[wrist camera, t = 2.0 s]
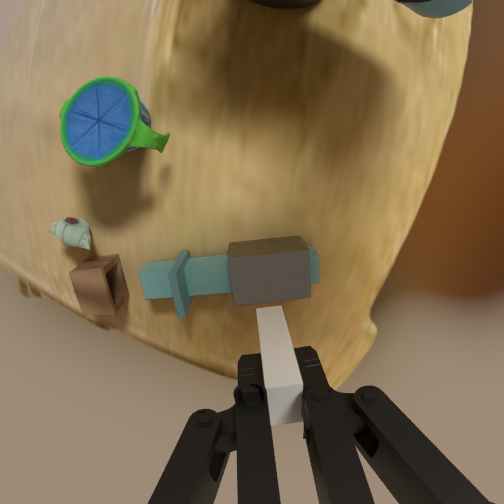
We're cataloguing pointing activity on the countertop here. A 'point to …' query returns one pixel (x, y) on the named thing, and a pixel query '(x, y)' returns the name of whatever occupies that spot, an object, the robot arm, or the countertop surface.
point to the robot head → (72, 232)
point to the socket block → (100, 285)
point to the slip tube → (196, 278)
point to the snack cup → (106, 122)
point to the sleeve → (269, 270)
